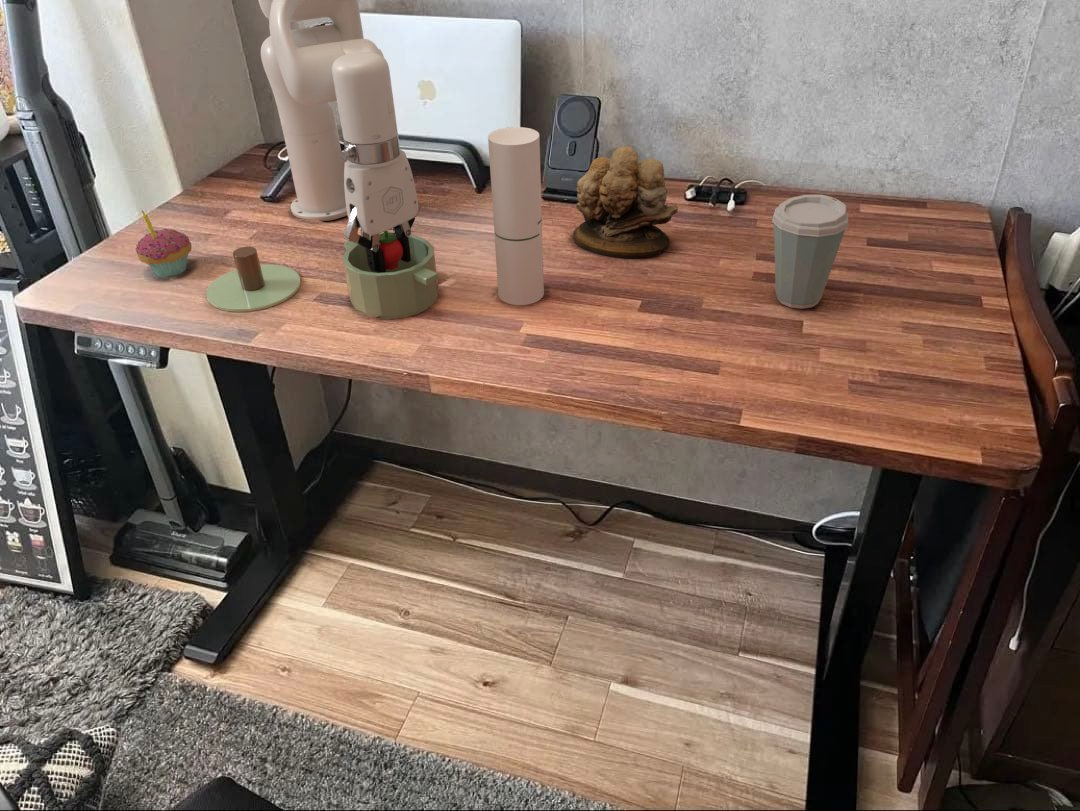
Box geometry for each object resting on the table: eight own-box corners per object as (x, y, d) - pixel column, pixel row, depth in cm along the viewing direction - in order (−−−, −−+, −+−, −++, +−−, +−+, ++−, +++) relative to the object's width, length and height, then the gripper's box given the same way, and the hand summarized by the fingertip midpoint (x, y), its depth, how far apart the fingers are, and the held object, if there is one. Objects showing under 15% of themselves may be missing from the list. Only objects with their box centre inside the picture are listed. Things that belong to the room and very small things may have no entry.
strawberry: (392, 256, 132) (386, 221, 129) (411, 265, 130) (406, 229, 126) (370, 267, 130) (364, 232, 126) (389, 275, 127) (383, 239, 124)
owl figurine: (682, 234, 147) (690, 138, 137) (665, 265, 139) (672, 164, 128) (584, 221, 153) (584, 127, 142) (562, 250, 144) (561, 152, 134)
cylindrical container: (550, 285, 134) (546, 129, 119) (535, 308, 129) (529, 147, 114) (508, 279, 136) (499, 125, 121) (491, 301, 131) (480, 142, 116)
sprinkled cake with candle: (180, 286, 138) (158, 217, 130) (134, 282, 139) (109, 214, 132) (207, 261, 144) (187, 195, 137) (162, 258, 146) (140, 192, 139)
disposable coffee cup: (792, 323, 123) (809, 228, 114) (745, 291, 131) (758, 200, 122) (847, 304, 127) (868, 211, 118) (799, 274, 135) (814, 185, 126)
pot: (388, 263, 142) (382, 221, 138) (468, 298, 132) (464, 254, 127) (322, 294, 134) (313, 252, 130) (402, 335, 124) (396, 290, 119)
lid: (267, 261, 144) (257, 223, 139) (320, 288, 136) (311, 247, 132) (189, 295, 135) (177, 255, 131) (241, 325, 127) (229, 284, 123)
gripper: (341, 172, 112) (363, 294, 123) (434, 136, 122) (447, 252, 133) (307, 160, 116) (331, 279, 127) (400, 126, 126) (414, 239, 137)
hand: (390, 264), depth 129 cm, fingers closed on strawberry, 4 cm apart
